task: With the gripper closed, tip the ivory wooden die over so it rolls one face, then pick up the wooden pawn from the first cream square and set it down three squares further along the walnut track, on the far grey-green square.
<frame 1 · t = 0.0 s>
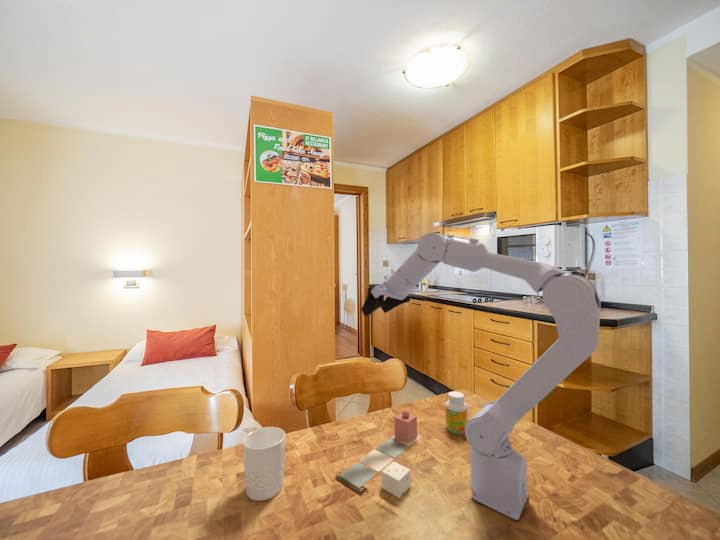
hand: (373, 311, 75), 32 cm above the table, tool tilted 50°, fingers open, 7 cm apart
die: (396, 491, 57), on the table
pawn: (405, 436, 74), point 1 cm above the table, touching track
white cup: (264, 489, 58), on the table
supplement bottle: (456, 432, 78), on the table
track: (384, 457, 68), on the table
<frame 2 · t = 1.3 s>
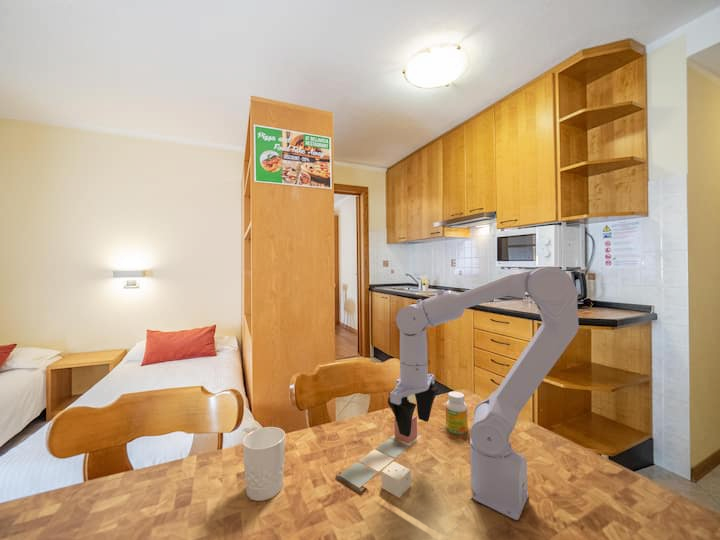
hand: (414, 426, 63), 9 cm above the table, tool pointing down, fingers open, 7 cm apart
nothing on the table moved.
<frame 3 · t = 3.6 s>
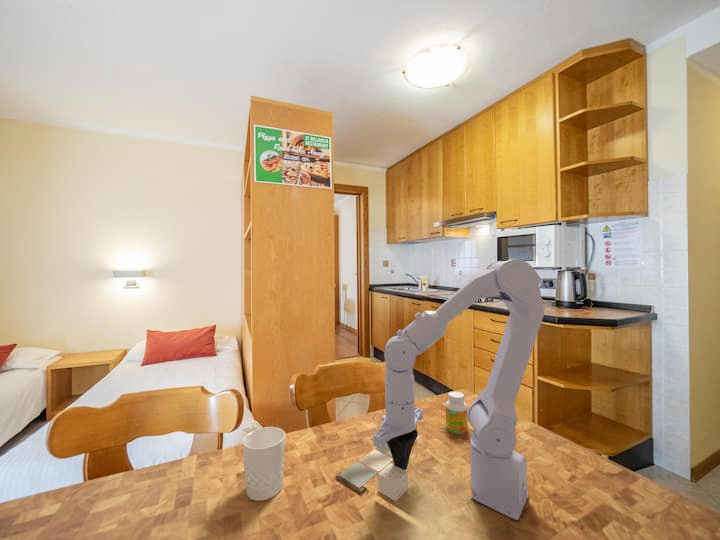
hand: (400, 468, 58), 3 cm above the table, tool pointing down, fingers closed
die: (393, 494, 56), on the table, touching gripper
everything else where it was.
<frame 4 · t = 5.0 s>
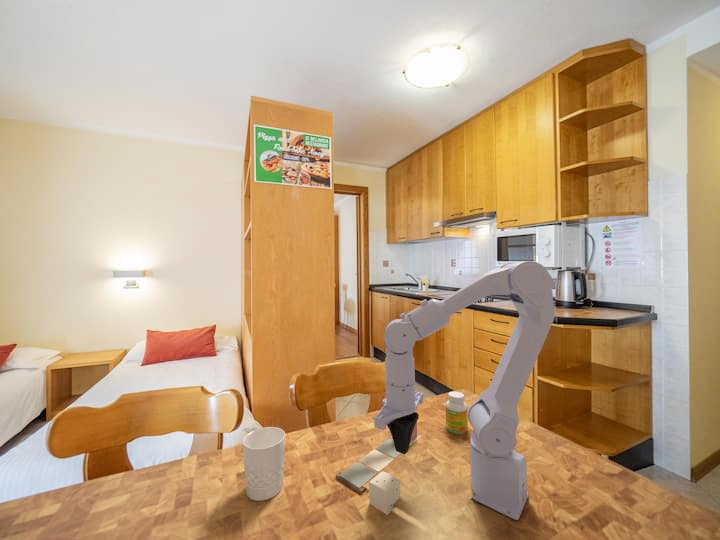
hand: (401, 451, 59), 7 cm above the table, tool pointing down, fingers closed
die: (385, 503, 54), on the table
everything else where it was.
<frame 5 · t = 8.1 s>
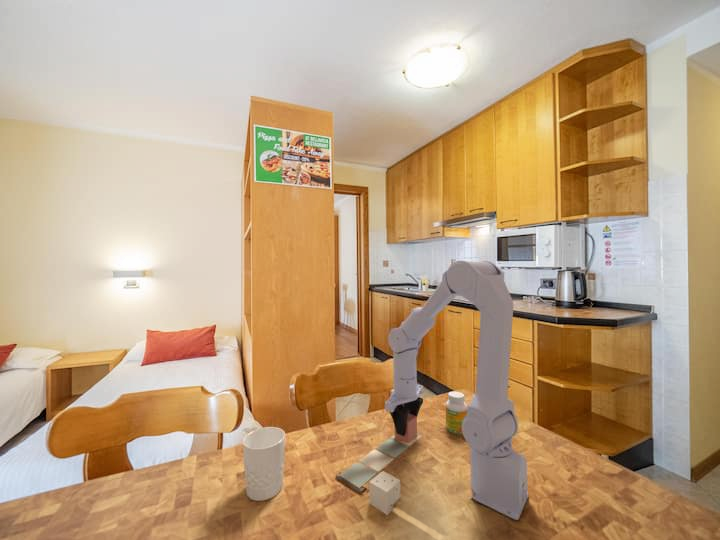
hand: (405, 430, 74), 2 cm above the table, tool pointing down, fingers closed on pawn, 4 cm apart
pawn: (405, 436, 74), point 1 cm above the table, touching gripper, track
everything else where it was.
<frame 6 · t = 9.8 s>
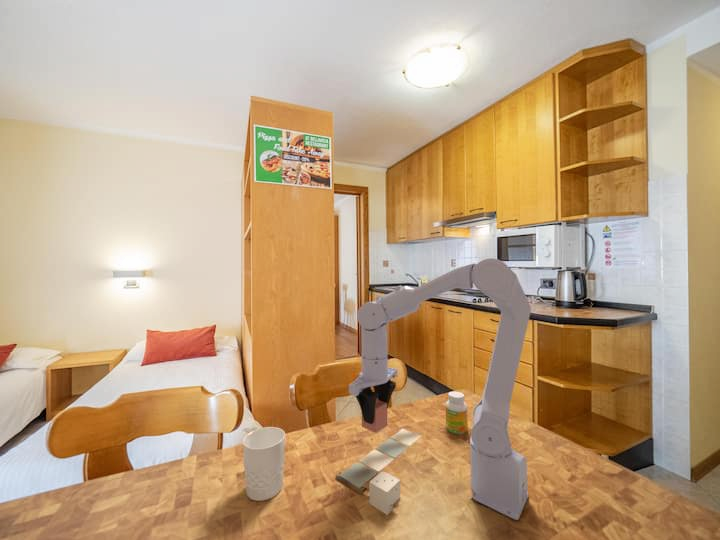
hand: (375, 418, 66), 10 cm above the table, tool pointing down, fingers closed on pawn, 4 cm apart
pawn: (374, 426, 66), point 8 cm above the table, touching gripper
everything else where it was.
when the fingers open (3 cm above the table, at t = 11.9 s): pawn stays where it is, resting on track.
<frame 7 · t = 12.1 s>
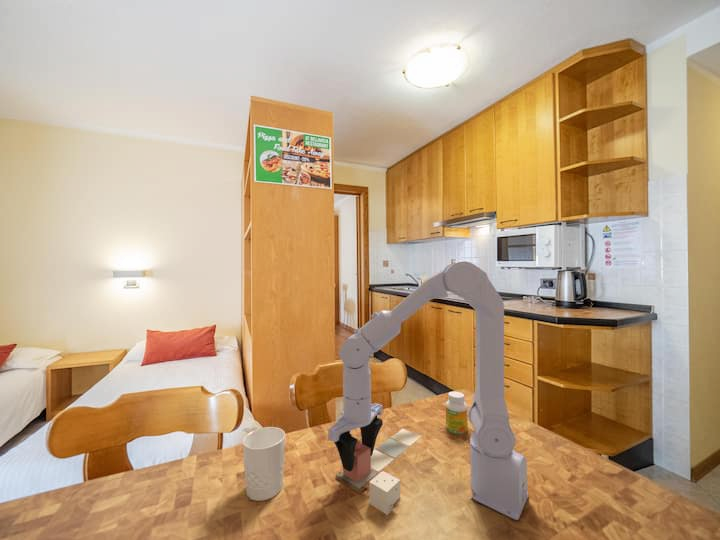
hand: (358, 461, 61), 3 cm above the table, tool pointing down, fingers open, 6 cm apart
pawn: (357, 473, 61), point 1 cm above the table, touching track
everything else where it was.
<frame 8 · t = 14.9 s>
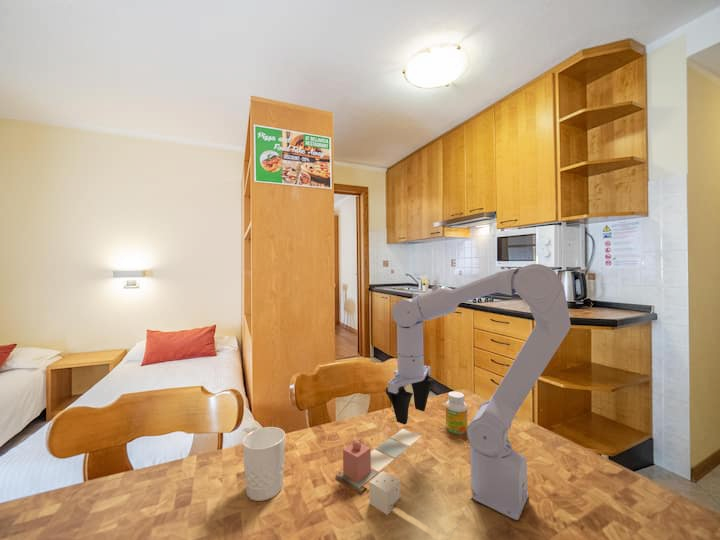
hand: (411, 415, 65), 10 cm above the table, tool pointing down, fingers open, 7 cm apart
nothing on the table moved.
at the end: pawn 0.3 cm from the target spot on the track, point 0.8 cm above the track's base; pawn tilted 0°; die moved 3.7 cm from its start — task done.
